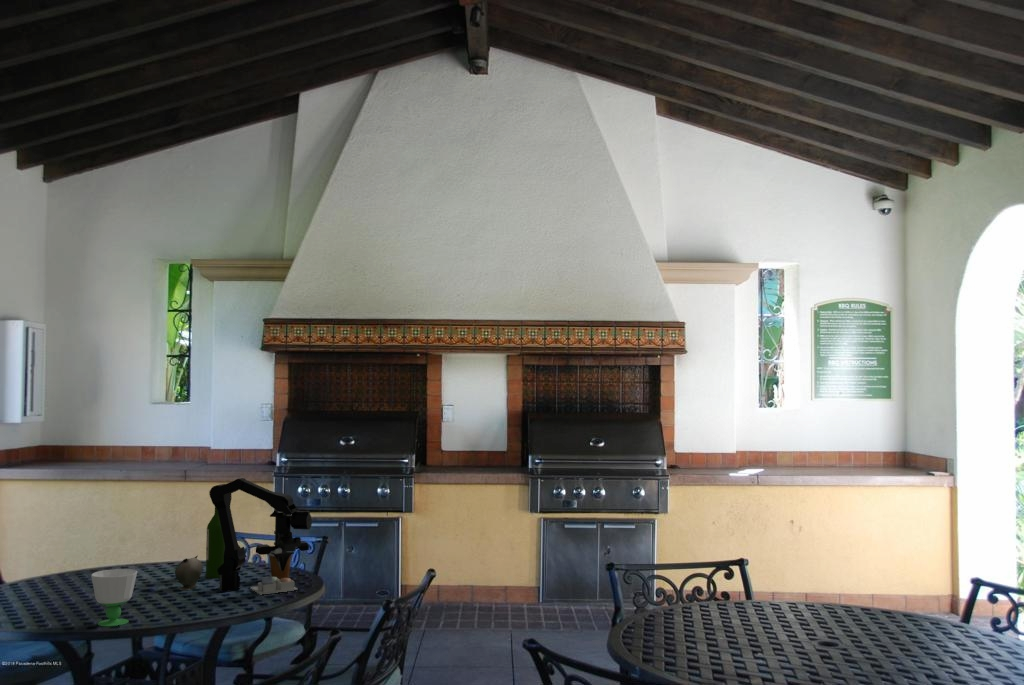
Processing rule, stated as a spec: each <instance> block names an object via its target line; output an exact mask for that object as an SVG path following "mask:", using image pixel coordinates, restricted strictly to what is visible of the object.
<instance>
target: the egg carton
mask: <svg viewBox="0 0 1024 685" xmlns="http://www.w3.org/2000/svg"><path fill="white" fill-rule="evenodd" d="M295 585H296V584H295V581H294V580H293V579H291V578H290V582H280V579H278V578H277V580H275V581H272V584H265V585H263V584H262V581H260V582H257V586H250V589H252V590H253V591H255V592H257V593H259V594H260V595H262V594H270V593H278V592H287V591H294V590H298V589H299V588H298V587H295ZM250 589H249V590H250ZM253 591H252V592H253ZM255 592H254V593H255ZM260 595H259V596H260Z"/></svg>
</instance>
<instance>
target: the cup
mask: <svg viewBox="0 0 1024 685" xmlns="http://www.w3.org/2000/svg"><path fill="white" fill-rule="evenodd" d="M137 575H138V570H135V569H129V568H115V569H105V570H99V571H95V572H93V573H91V576H90V577H91V582H92V587H93V591H94V597H95V600H96V601H97V602H96V603H98V604H101V605H103V606H106V607H107V608H106V610H105V616H106V617H107V619H104V620H101V621H99V622H98V623H97V625H98V626H99V627H106V628H107V627H117V626H118V625H119V626H123V625H125V624H128V623H129V620H128V619H126V618H120V616H121V614H122V608H121V605H123V604H125V603H126V602H129V601H130V599H131V598H132V597H133V592H134V589H135V584H136V580H137Z"/></svg>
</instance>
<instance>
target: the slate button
mask: <svg viewBox="0 0 1024 685" xmlns="http://www.w3.org/2000/svg"><path fill="white" fill-rule="evenodd" d="M261 582H262V584H263V585H265V584H272V576H262V577H261Z"/></svg>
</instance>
